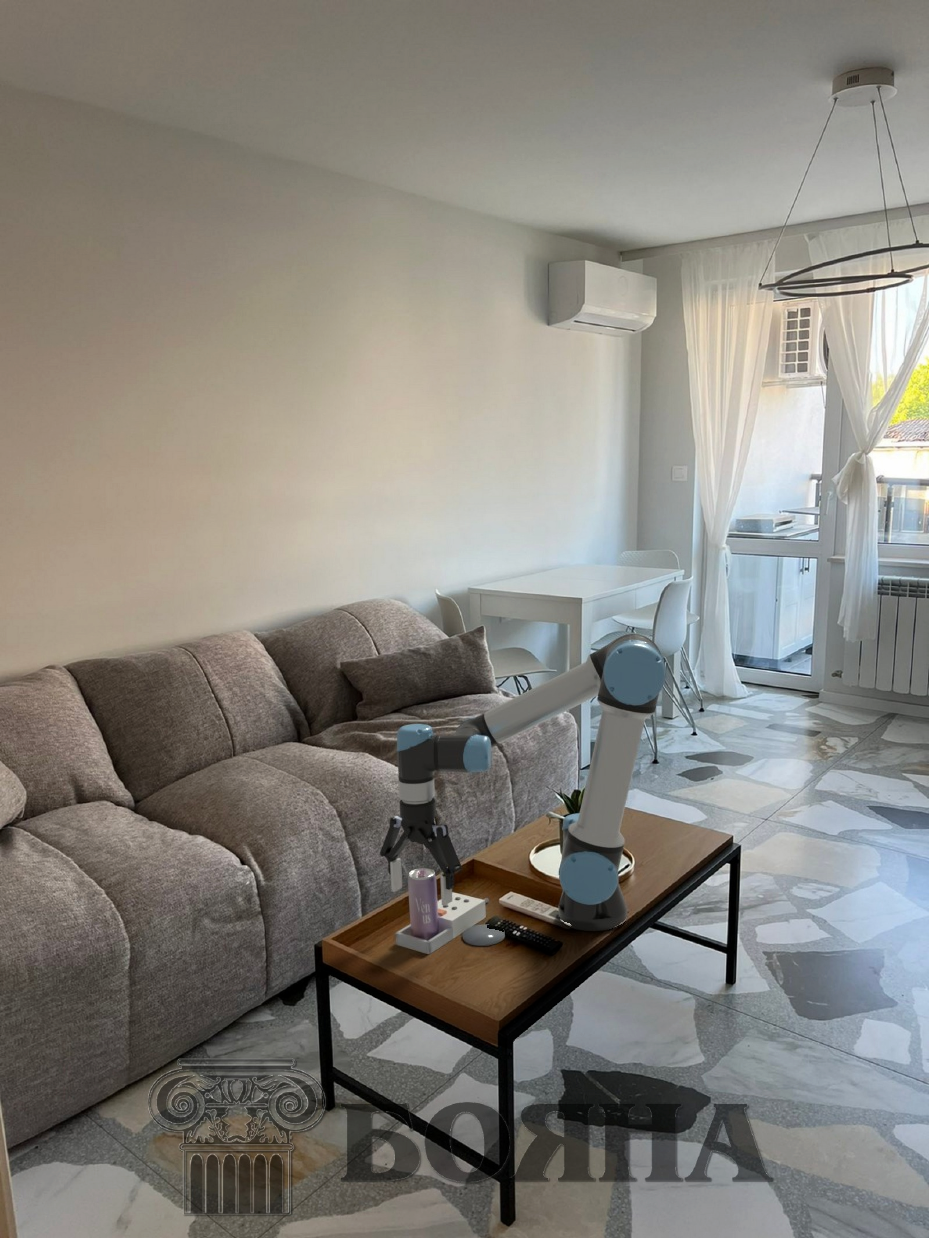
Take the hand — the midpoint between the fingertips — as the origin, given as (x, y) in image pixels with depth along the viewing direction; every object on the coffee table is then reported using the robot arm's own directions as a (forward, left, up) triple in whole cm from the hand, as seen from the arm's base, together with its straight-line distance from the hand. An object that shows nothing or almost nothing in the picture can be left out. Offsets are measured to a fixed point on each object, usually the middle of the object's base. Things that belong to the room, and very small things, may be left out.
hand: (421, 896), depth 199 cm
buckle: (0, -9, -10) cm, 14 cm away
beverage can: (0, 0, -10) cm, 10 cm away
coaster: (-10, -8, -10) cm, 16 cm away
